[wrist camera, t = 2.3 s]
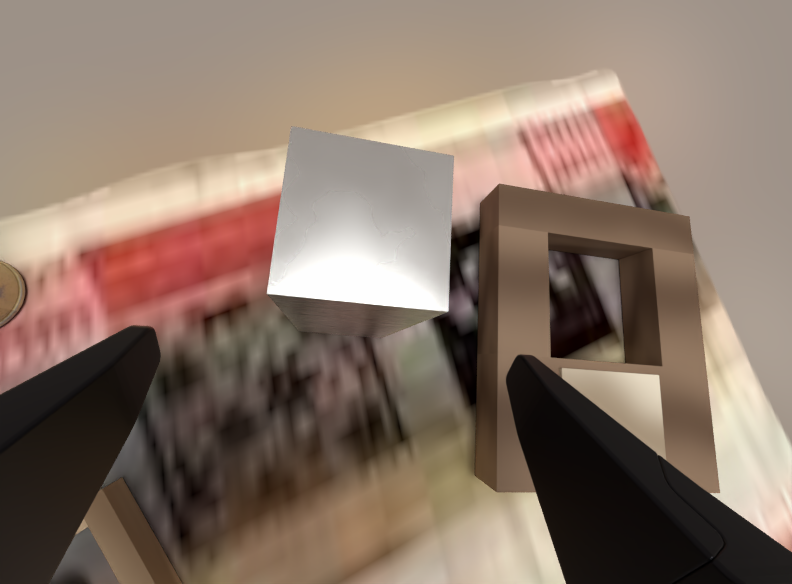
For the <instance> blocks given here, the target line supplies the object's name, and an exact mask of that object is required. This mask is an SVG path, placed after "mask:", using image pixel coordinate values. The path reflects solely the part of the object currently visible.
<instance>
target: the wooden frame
mask: <svg viewBox="0 0 792 584" xmlns="http://www.w3.org/2000/svg"><path fill="white" fill-rule="evenodd" d="M87 527H89V529H90V531H91V533H92V534H93V536H94V538H95V540H96V542H97V543H98V545H99V547H100V549H101V551H102V552H103V554H104V556H105V558H106V560H107V561H108V563H109V565H110V567H111V569H112V571H113V572H114V574H115V576H116V578H117V580H118V581H119V583H120V584H182V583H181V581H180V579H179V577H178V575H177V574H176V572H175V570H174V568H173V567H172V565H171V563H170V561H169V559H168V558H167V556H166V554H165V552H164V551H163V549H162V547H161V545H160V544H159V542H158V540H157V538H156V536H155V535H154V533H153V531H152V529H151V528H150V526H149V524H148V522H147V520H146V519H145V517H144V515H143V513H142V512H141V510H140V508H139V506H138V504H137V503H136V501H135V499H134V497H133V496H132V494H131V492H130V490H129V489H128V487H127V485H126V483H125V481H124V480H123V478H120V479H118V480H117V481H115V482H113V483H111V484H110V485H108V486H106V487H105V488H103V489H101V490H100V491H98V493H97V495H96V497H95V499H94V501H93V503H92V504H91V506H90V508H89V510H88V512H87V514H86V516H85V517H84V519H83V521H82V523H81V525H80V527H79V529H78V530H77V532H76V534H78V533H79V532H81V531H82V530H84V529H86V528H87ZM76 534H75V535H76Z"/></svg>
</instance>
